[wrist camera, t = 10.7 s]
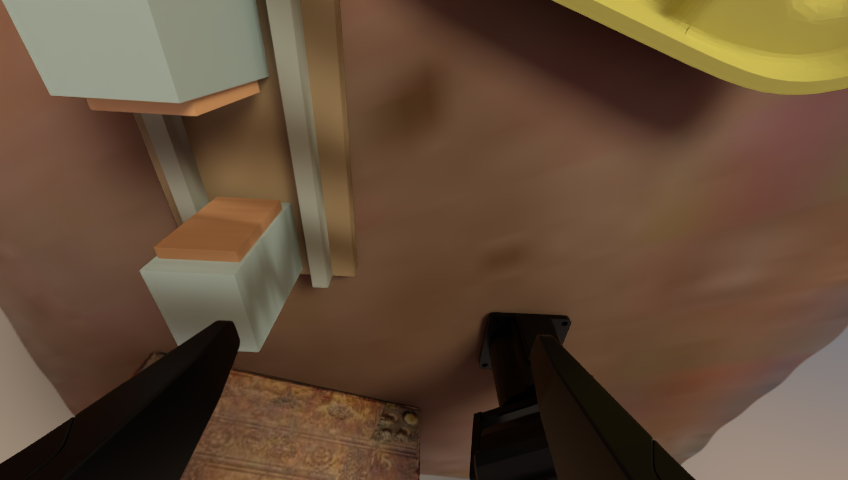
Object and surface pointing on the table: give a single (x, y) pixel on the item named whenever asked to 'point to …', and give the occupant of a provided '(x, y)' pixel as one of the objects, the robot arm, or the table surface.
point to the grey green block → (145, 52)
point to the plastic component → (740, 38)
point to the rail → (258, 184)
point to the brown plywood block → (302, 433)
